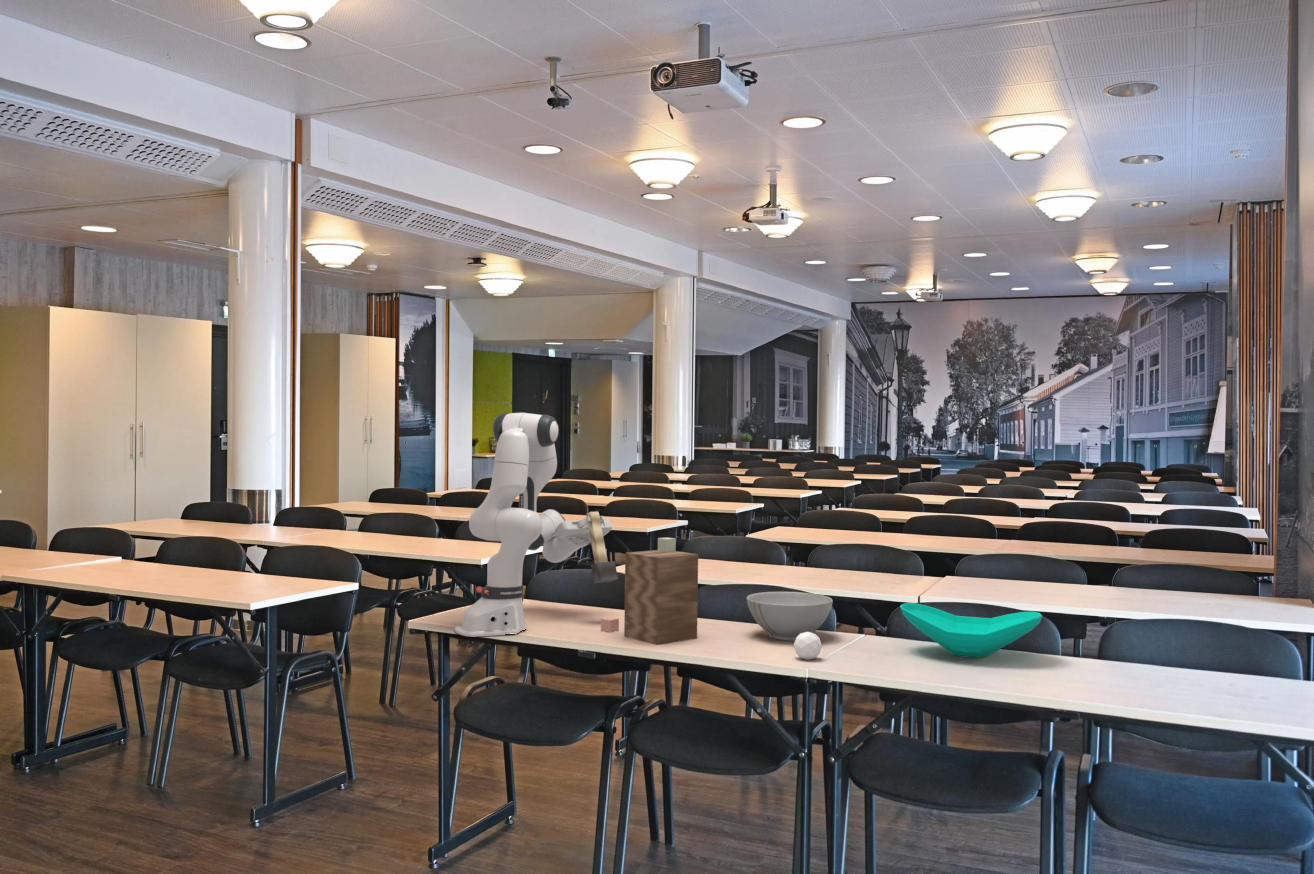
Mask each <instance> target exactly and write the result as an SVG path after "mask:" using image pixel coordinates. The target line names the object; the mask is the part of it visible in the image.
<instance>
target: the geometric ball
mask: <svg viewBox="0 0 1314 874" xmlns="http://www.w3.org/2000/svg"><path fill="white" fill-rule="evenodd" d="M822 647H823V644H822V642H821V639H820V637H819V636H818V635H817V634H816V633H814V632H812V633H810V632H804V633H800V634H799V635H798V636H797V638H796V640H794V642H793V648H794V651H795V654H796V655H797V656H798V657H799V658H800V659H803V660H806V661H809V660H813V659H816V658H818V656H819V655H820V653H821V650H822Z"/></svg>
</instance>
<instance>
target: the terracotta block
mask: <svg viewBox="0 0 1314 874" xmlns="http://www.w3.org/2000/svg"><path fill="white" fill-rule="evenodd" d="M619 623H620V619H619V618H617V617H611V616H610V617H604V618H600V632H603V631H604V633H608V634H609V633H616V632H619V629H620V628H619V627H620V626H619V625H620V624H619ZM615 631H616V632H615Z"/></svg>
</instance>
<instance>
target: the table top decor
mask: <svg viewBox="0 0 1314 874" xmlns="http://www.w3.org/2000/svg"><path fill="white" fill-rule="evenodd" d="M899 606H900V609H901V612H902V615H903V616H904V618H906V619H907V620H908V622H909V623H910V624H912V625H913V627H915V628H916V629H917V630H919V631H920V632H921V633H923V634H924V635H925V636H926V637H928V638H930V639H931V640H932V641H934V642H935V643H937V644H938V645H939V646H940V647H942V648H944V649H945V650H947V651H948V652H949V653H951V654H952V655H955V656H957V657H963V658H974V659H975V658H977V659H978V658H984V657H988V656H990V655H991V654H994V653H995V652H997V651H999V650H1001V649H1002V648H1004V647H1006V646H1009V644H1011V643H1014V642H1015V641H1017V640H1019V639H1021V637H1023V636H1024V635H1027V634H1028V633H1030V632H1031V631H1033V630H1034V628H1036V627H1037V626H1038V625H1039V624H1041V621H1042V618H1043V615H1042V614H1041V613H1040V612H1037V611H1022V612H1021V611H1019V612H1014V613H1009V614H1004V615H999V616H995V617H992V618H991V617H979V616H978V617H976V616H965V615H963V616H961V615H955V614H953V613H949V612H947V611H944V610H941V609H939V608H935V607H932V606H928V605H926V604H919V603H915V602H912V603H911V602H910V603H909V602H908V603H907V602H906V603H902V604H901V605H899Z"/></svg>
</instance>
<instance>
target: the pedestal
mask: <svg viewBox="0 0 1314 874" xmlns="http://www.w3.org/2000/svg"><path fill="white" fill-rule="evenodd" d="M624 554H625V555H624V557H625V559H624V560H625V563H624V564H625V565H624V621H623V622H624V623H623V624H624V628H623V629H624V632H623V633H624V635H623V636H624V637H627V638H629V637H630V638H629V639H633V638H634V640H637V639H638V640H637V641H641V642H645V643H650V644H653V645H657V646H659V645H664V644H671V643H678V642H683V641H689V640H695V639H698V606H699V605H698V604H699V603H698V599H699V597H698V596H699V594H698V593H699V592H698V591H699V589H698V588H699V586H698V585H699V554H698V553H692V552H684V551H679V550H676V551H673V552H662V551H658V549H655V550H654V549H651V550H643V551H642V550H641V551H630V552H629V551H627V552H624ZM658 644H659V645H658Z"/></svg>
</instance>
